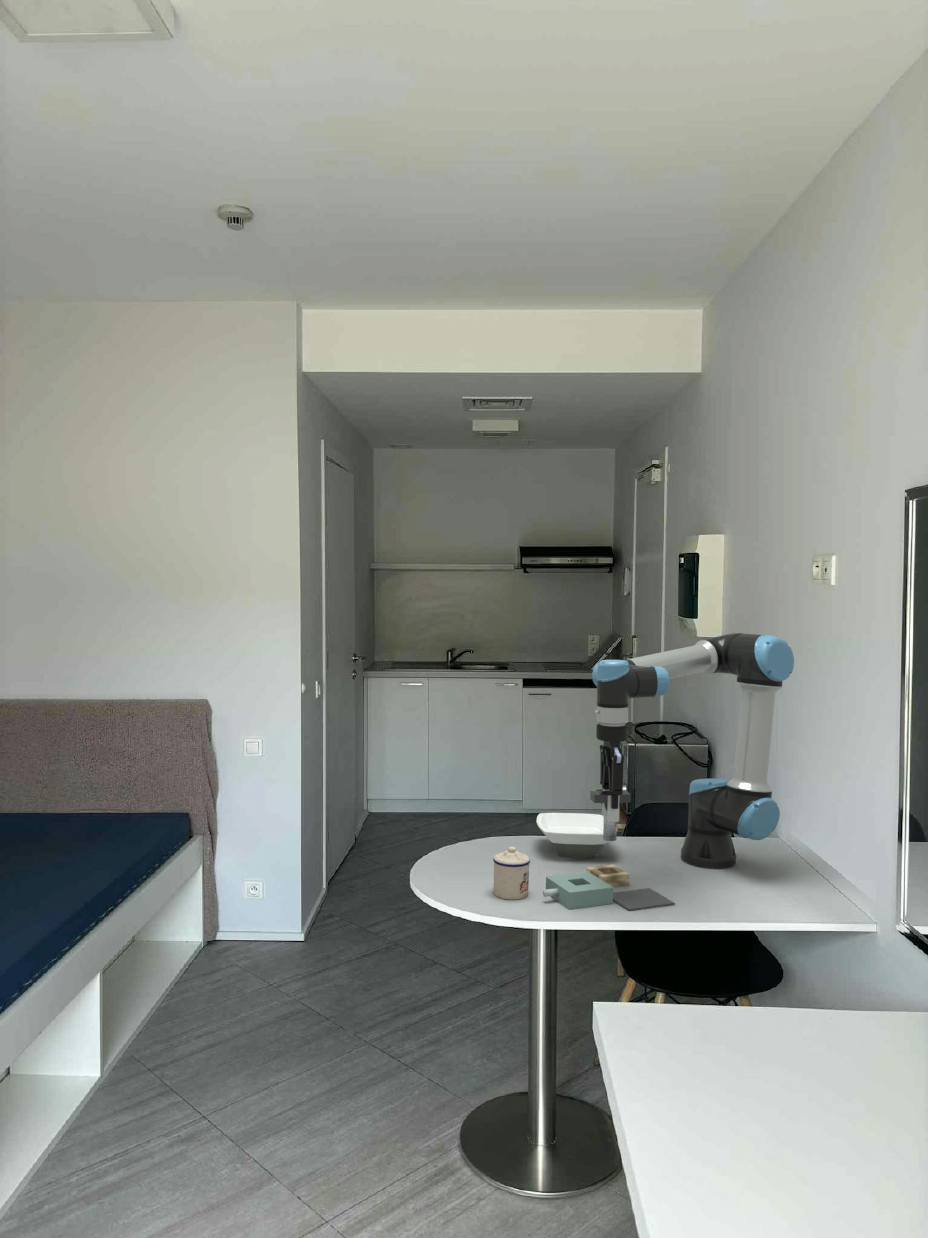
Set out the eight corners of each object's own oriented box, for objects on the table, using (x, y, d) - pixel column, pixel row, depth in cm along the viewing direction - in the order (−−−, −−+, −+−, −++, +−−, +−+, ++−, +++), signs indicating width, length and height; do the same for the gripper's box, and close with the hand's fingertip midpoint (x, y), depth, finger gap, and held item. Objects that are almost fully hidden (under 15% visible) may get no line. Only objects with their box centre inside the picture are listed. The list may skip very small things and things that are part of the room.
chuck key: (589, 837, 218) (590, 791, 218) (625, 836, 219) (626, 790, 219) (593, 842, 214) (594, 795, 214) (630, 841, 215) (630, 794, 215)
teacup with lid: (527, 902, 214) (528, 854, 213) (490, 899, 215) (491, 851, 215) (531, 885, 226) (533, 840, 225) (496, 882, 227) (497, 837, 227)
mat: (649, 890, 224) (649, 888, 224) (674, 905, 214) (675, 903, 214) (604, 895, 220) (604, 893, 220) (628, 911, 209) (628, 909, 209)
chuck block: (587, 887, 225) (588, 872, 225) (612, 903, 214) (613, 887, 214) (533, 894, 219) (533, 878, 219) (555, 911, 208) (556, 894, 208)
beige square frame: (612, 875, 235) (613, 864, 235) (629, 885, 227) (629, 874, 227) (586, 878, 232) (586, 867, 232) (602, 888, 224) (602, 877, 224)
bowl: (621, 865, 244) (622, 834, 244) (538, 862, 245) (539, 832, 244) (609, 841, 266) (610, 814, 266) (533, 839, 267) (534, 812, 266)
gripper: (588, 718, 224) (587, 809, 225) (606, 729, 207) (604, 828, 208) (617, 718, 224) (616, 809, 226) (637, 729, 207) (635, 828, 209)
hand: (610, 818), depth 217 cm, fingers closed on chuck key, 4 cm apart
